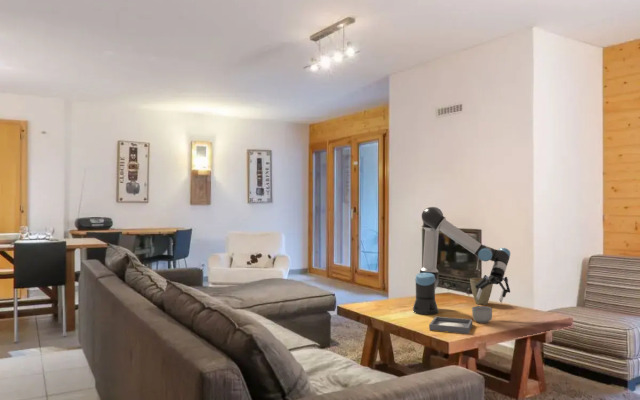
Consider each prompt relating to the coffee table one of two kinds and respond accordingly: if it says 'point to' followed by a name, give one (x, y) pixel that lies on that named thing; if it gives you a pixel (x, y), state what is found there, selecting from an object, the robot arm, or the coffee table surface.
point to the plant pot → (484, 294)
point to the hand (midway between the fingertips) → (488, 299)
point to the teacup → (482, 314)
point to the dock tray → (451, 324)
